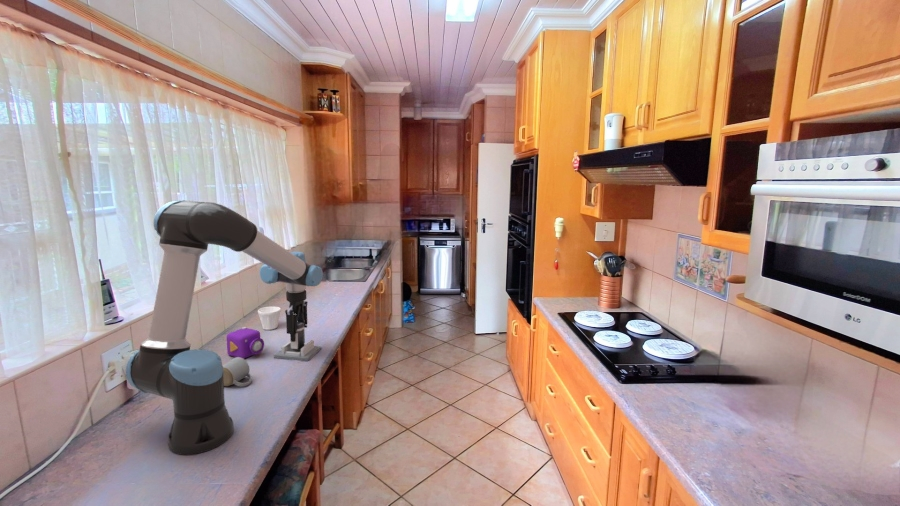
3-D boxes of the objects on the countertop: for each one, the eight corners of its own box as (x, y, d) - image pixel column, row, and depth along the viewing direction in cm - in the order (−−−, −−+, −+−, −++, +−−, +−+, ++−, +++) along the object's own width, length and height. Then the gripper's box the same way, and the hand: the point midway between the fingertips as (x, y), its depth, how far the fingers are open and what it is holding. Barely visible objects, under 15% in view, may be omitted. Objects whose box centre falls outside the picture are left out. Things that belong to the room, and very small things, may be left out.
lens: (307, 347, 166) (306, 323, 164) (295, 351, 162) (294, 326, 160) (300, 343, 169) (299, 320, 167) (288, 347, 165) (287, 323, 163)
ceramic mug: (214, 385, 138) (213, 364, 137) (232, 375, 146) (231, 355, 145) (240, 391, 136) (239, 369, 134) (257, 380, 143) (257, 359, 142)
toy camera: (253, 362, 157) (252, 337, 155) (223, 358, 160) (221, 334, 158) (271, 351, 167) (270, 328, 166) (242, 347, 170) (240, 324, 168)
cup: (281, 330, 190) (280, 311, 189) (257, 332, 186) (257, 313, 185) (281, 323, 199) (281, 305, 198) (259, 325, 196) (258, 307, 194)
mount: (307, 361, 159) (307, 351, 158) (274, 358, 161) (273, 348, 160) (321, 349, 171) (320, 339, 170) (289, 346, 173) (289, 337, 172)
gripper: (293, 297, 152) (295, 355, 156) (315, 285, 170) (316, 338, 174) (274, 295, 153) (277, 353, 157) (298, 284, 171) (300, 336, 175)
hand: (298, 345), depth 165 cm, fingers closed on lens, 5 cm apart
